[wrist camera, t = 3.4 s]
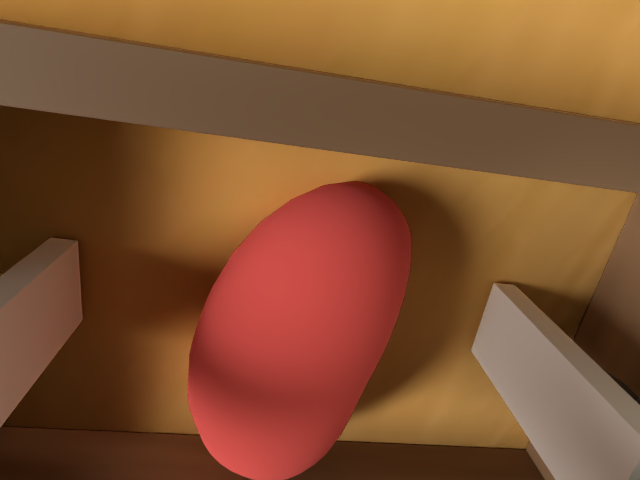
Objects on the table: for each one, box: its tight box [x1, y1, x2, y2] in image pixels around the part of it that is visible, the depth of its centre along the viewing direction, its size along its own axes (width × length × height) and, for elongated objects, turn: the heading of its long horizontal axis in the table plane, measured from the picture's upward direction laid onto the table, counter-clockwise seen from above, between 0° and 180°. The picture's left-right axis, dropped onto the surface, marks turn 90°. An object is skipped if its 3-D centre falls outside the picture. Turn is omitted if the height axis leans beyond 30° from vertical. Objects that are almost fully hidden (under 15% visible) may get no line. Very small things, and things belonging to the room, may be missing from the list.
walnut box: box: [0, 20, 640, 480], centre depth 11 cm, size 14×23×6 cm, turn 81°
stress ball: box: [188, 181, 412, 480], centre depth 12 cm, size 5×9×6 cm, turn 148°
